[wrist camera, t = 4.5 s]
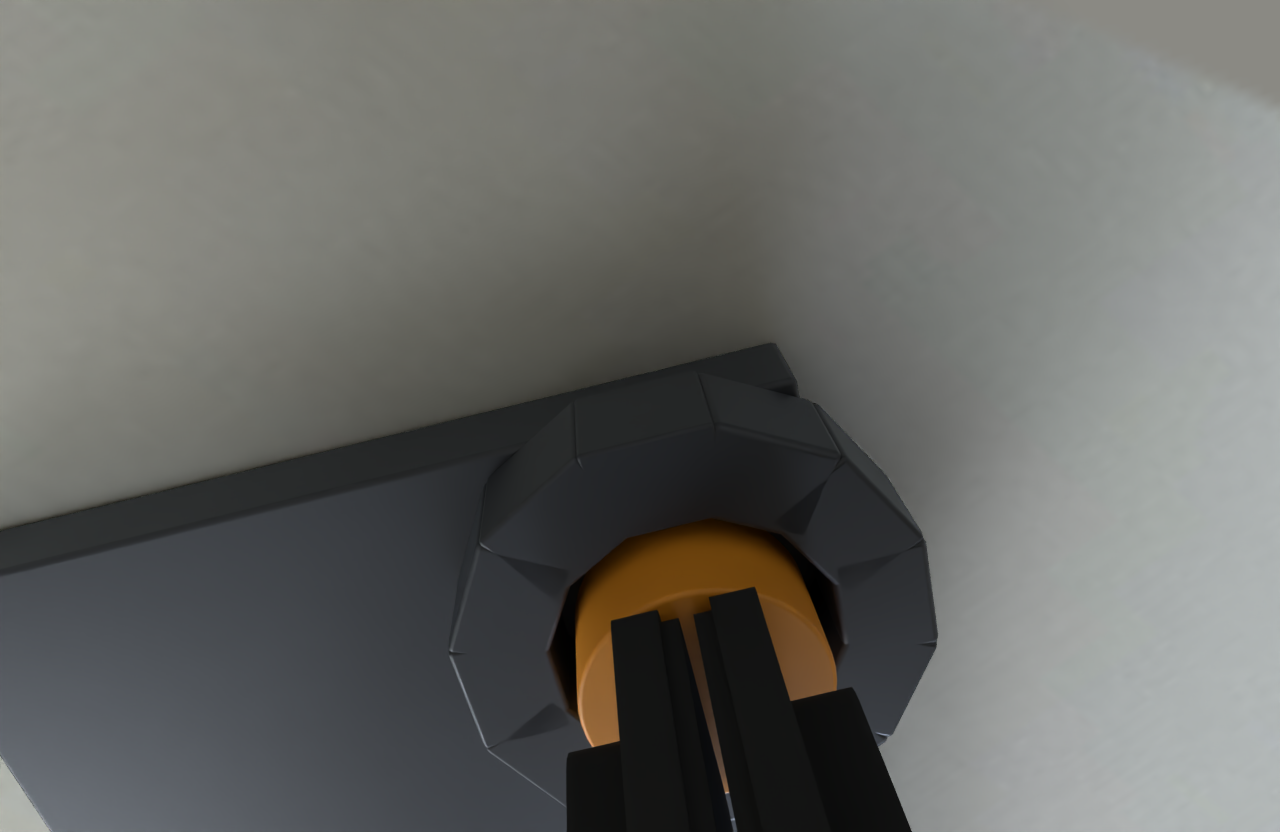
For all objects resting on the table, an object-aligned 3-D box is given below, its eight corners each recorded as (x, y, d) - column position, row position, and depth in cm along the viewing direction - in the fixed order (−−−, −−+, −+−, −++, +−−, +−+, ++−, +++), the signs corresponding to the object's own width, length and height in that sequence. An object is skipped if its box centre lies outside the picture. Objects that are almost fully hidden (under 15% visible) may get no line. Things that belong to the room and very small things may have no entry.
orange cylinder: (547, 541, 13) (546, 626, 11) (784, 484, 13) (816, 561, 11) (606, 723, 14) (612, 822, 12) (821, 672, 14) (855, 766, 12)
